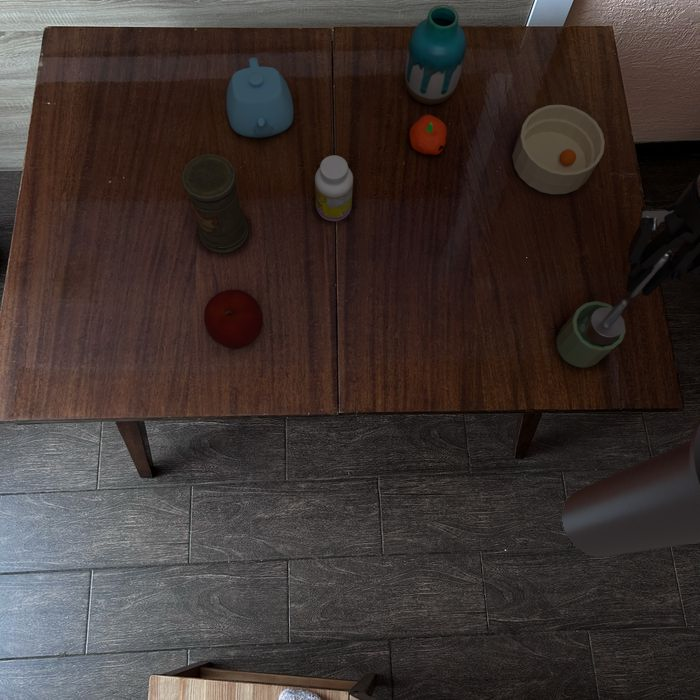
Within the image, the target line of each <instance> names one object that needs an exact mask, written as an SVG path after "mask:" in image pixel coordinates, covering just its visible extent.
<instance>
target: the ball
mask: <svg viewBox="0 0 700 700" xmlns="http://www.w3.org/2000/svg"><path fill="white" fill-rule="evenodd" d="M575 160H576V154H575V152H574V151H573V150H570V149H567V150H564V151H563V152H562V153H561V154H560V162H561V163H562V164H563V165H565V166H570V165H572V164H573V163H574V162H575Z"/></svg>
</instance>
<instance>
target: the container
mask: <svg viewBox="0 0 700 700" xmlns="http://www.w3.org/2000/svg"><path fill="white" fill-rule="evenodd" d="M236 181H237V173H236V169H235V167H234V166H233V164H232V163H231V162H230V161H229V160H228V159H226V158H225V157H223V156H221V155H217V154H212V153H211V154H210V153H208V154H207V153H206V154H202V155H201V154H200V155H198V156H196V157H194V158H192V159H191V160H190V161H188V163H187V164H186V165H185V167H184V169H183V171H182V175H181V183H182V187H183V190H184V191H185V192H186V193H187V195H188V198H189V202H191V204H192V208H193V210H194V213H195V216H196V223H197V227H198V228H197V229H198V236H199V239H200V241H201V243H202V245H203V246H204V247H205V248H207V249H208V250H209V251H211V252H213V253H216V254H222V255H223V254H230V253H231V254H232V253H233V252H235V251H237V250H240V248H241V247H243V246H244V244H245V242H246V241H247V238H248V236H249V223H248V220H247V219H246V216H245V214H244V213H243V212H244V211H243V209H242V207H241V204H240V199H239V195H238V186H237V183H236Z"/></svg>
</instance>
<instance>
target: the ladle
mask: <svg viewBox="0 0 700 700" xmlns="http://www.w3.org/2000/svg"><path fill="white" fill-rule="evenodd" d="M672 257H673V252H672V249H671V250H669V251H668V252H667V253H666V254H665V255H663V256H662V257H661V258H660V259H659V260H657V261H656V262H655V263H654V264H653V266H652V272H651V273H650V274H649V275H648V276H647V277H646V278H645V279H644V280H643V281H642V283H641V284H640V285H639V286H638V287H637V288H636V289H635V290H634V291H633V292H627V291H626V290H625V292H624V294H623V295H622V296H621V297H620V298H619V300H618V301H617V302H616V303H615V305H614V306H612V307H613V308H612V309H611V308H607V307H603V308H599V309H597V310H595V311H594V312H593V314H592V315H591V316H590V318H589V319H588V320H587V322H586V324H585V331H586V334H587V336H588V337H589V338H590V339H591V340H592V341H593V342H595V343H597V344H601V345H607V344H610V343H612V342H614V341H615V339H616V338H617V337H618V336H619V335H620V334H621V333H622V332H623V330H624V323H625V320H623V319H624V317H623V316H622V315H623V314H624V313H625V311H626V310H627V309H628V308H629V307H630V306H631V305H632V303H633V302H634V301H635V300H636V299H637V298H638V296H639V295H641V294H642V293H643V290H644V288H645V287H646V286H647V285H648V284H649V283H650V282H651V280H652V279H653V278H654V277H655V276H656V275H657V274H658V272H659V271H660V270H661V269H662V268H663V267H664V266H665V264H666V263H667V262H668V261H669V260H670V259H671V260H672Z"/></svg>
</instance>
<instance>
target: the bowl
mask: <svg viewBox="0 0 700 700" xmlns="http://www.w3.org/2000/svg"><path fill="white" fill-rule="evenodd" d="M605 144H606V142H605V138H604V133H603V131H602V129H601V128H600V126H599V124H598V122H597V121H596V120H595V119H594V118H592V116H591V115H589V114H588V113H587V112H585V111H583V110H581V109H578V108H577V107H574V106H570V105H566V104H550V105H549V104H548V105H546V106H542V107H540V108H537V109H536V110H534V111H533V112H532V113H530V114H529V115H527V117H526V119H525V120H524V122H523V124H522V125H521V128H520V130H519V132H518V136H517V138H516V141H515V143H514V145H513V150H512V155H511V158H512V162H513V163H512V164H513V168H514V170H515V172H516V173H517V175H518V176H519V178H520V179H521V180H522V181H523V182H524V183H525V184H526V185H528V186H529V187H530V188H533V189H534V190H535V191H538V192H540V193H544V194H548V195H566V194H569V193H572V192H575V191H577V190H579V189H580V188H581V187H582V186H584V185H585V184H586V183H587V182H588V180H589V178H590V177H591V175H592V173H593V171H595V169H596V167H597V165H598V164H599V162H600V160H601V158H602V157H603V155H604V152H605ZM567 149H570V150H573V151H574V152H575V154H576V160H575V162H574V163H573V164H572V165H570V166H565V165H563V164H562V163H561V162H560V154H561V153H562V152H563V151H564V150H567Z"/></svg>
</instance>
